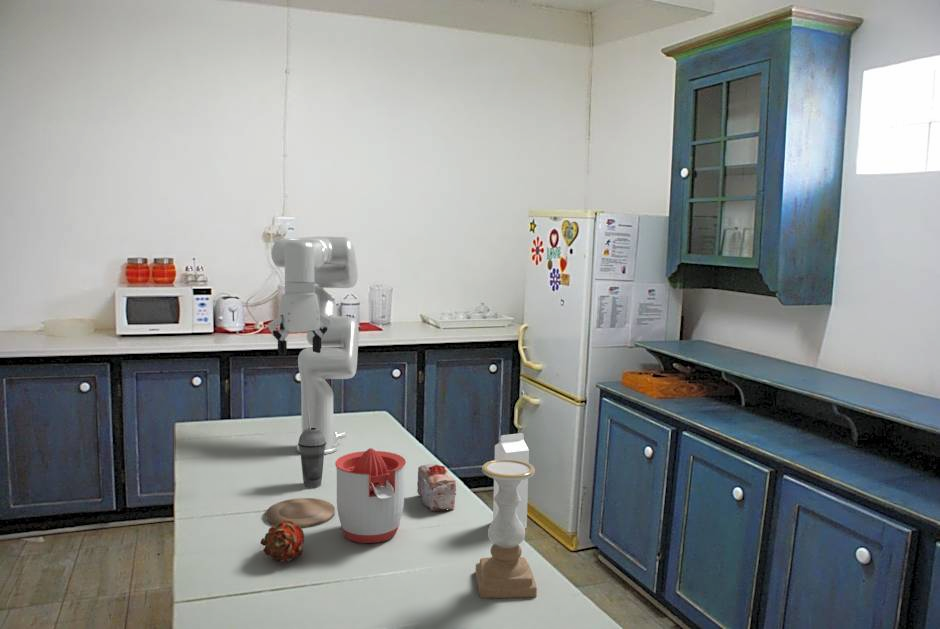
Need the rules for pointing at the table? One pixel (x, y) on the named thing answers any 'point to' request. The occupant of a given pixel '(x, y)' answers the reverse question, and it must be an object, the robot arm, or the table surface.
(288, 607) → the table surface
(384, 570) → the table surface
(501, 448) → the milk
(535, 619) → the table surface
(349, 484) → the citrus juicer
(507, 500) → the candle holder
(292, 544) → the dragon fruit
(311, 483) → the beverage cup
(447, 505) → the food item
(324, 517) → the brown round plate
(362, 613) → the table surface
